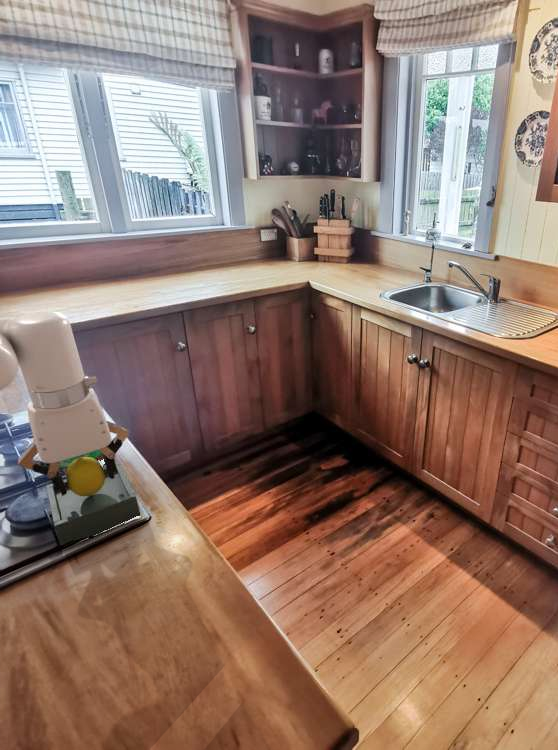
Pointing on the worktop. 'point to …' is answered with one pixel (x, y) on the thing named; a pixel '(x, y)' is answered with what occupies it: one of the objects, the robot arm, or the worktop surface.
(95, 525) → the grey green square tray
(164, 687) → the worktop surface
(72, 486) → the lemon
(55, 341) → the robot arm
